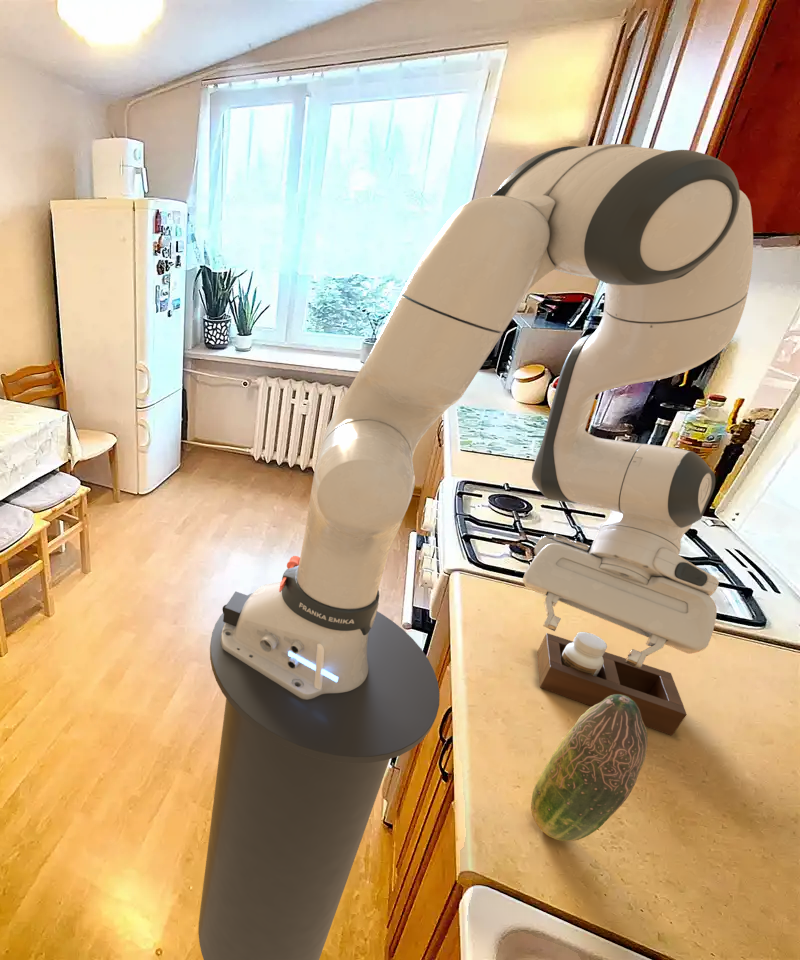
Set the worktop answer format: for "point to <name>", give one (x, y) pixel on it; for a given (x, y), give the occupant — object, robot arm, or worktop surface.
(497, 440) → the worktop surface
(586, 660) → the pill bottle
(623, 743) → the vegetable
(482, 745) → the worktop surface
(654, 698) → the holder
